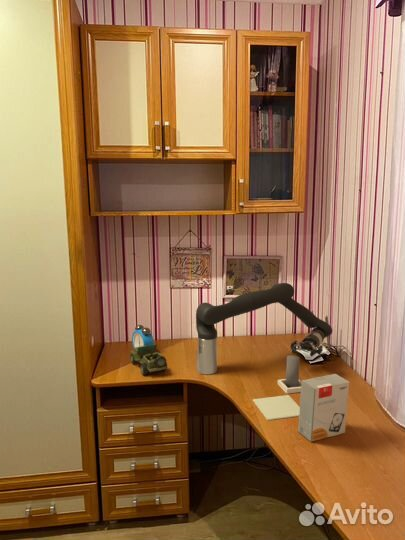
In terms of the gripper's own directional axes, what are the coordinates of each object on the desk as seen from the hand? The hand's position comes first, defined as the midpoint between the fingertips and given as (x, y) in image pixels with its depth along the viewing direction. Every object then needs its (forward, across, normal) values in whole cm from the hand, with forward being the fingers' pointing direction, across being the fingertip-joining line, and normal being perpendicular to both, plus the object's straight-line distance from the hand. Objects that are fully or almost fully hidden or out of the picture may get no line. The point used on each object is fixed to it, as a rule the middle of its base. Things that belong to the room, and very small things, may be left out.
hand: (301, 352), depth 192 cm
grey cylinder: (+12, 0, +12) cm, 17 cm away
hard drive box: (+40, +21, +12) cm, 47 cm away
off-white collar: (+12, 0, +12) cm, 17 cm away
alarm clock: (+14, -82, +12) cm, 84 cm away
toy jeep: (+27, -68, +12) cm, 74 cm away
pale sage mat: (+31, +1, +12) cm, 34 cm away
